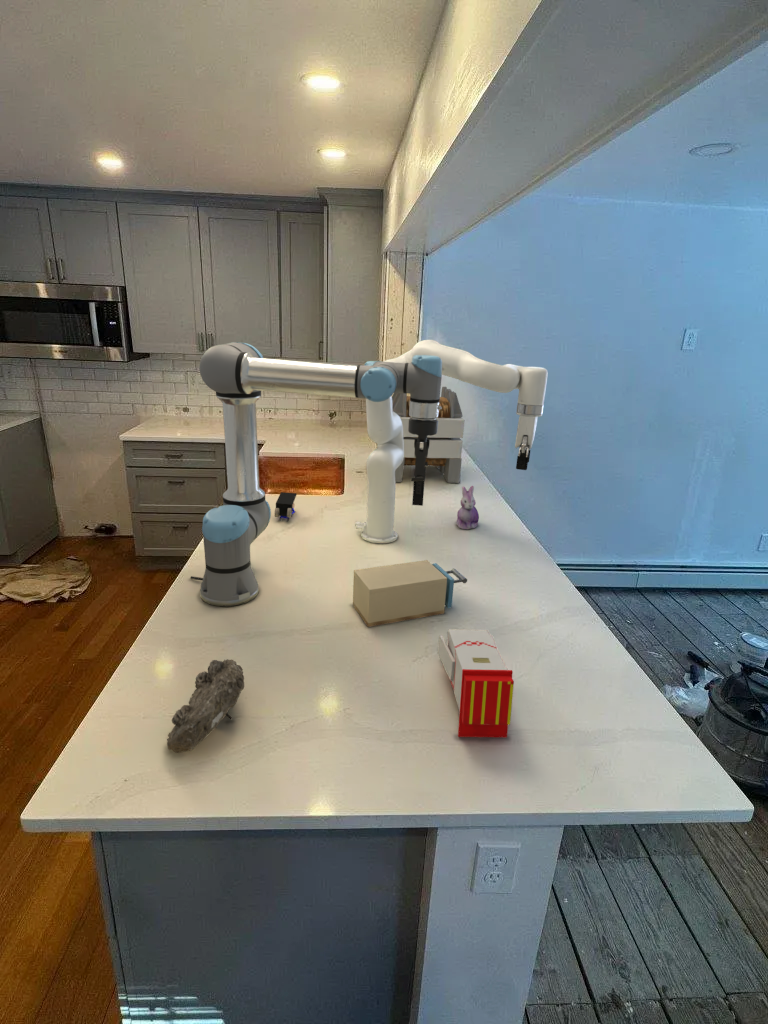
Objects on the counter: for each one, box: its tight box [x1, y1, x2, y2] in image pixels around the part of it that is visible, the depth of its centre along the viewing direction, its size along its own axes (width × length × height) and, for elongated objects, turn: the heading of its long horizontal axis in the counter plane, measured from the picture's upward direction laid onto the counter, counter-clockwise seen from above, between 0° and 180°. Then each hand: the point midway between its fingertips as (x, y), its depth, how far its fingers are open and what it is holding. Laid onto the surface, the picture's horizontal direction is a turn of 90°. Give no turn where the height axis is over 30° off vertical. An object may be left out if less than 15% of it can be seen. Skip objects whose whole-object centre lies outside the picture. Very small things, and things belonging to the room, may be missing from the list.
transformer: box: [391, 386, 465, 484], centre depth 268 cm, size 34×33×41 cm
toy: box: [437, 628, 515, 738], centre depth 117 cm, size 12×13×30 cm
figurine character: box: [274, 492, 298, 522], centre depth 210 cm, size 7×8×15 cm
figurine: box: [455, 485, 480, 530], centre depth 208 cm, size 9×10×15 cm
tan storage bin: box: [352, 559, 447, 628], centre depth 148 cm, size 21×12×10 cm, turn 112°
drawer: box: [431, 562, 468, 609], centre depth 150 cm, size 25×10×8 cm, turn 112°
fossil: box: [166, 658, 245, 754], centre depth 106 cm, size 22×10×15 cm
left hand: (418, 496), depth 152 cm, fingers open, 13 cm apart
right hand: (522, 465), depth 174 cm, fingers open, 9 cm apart
